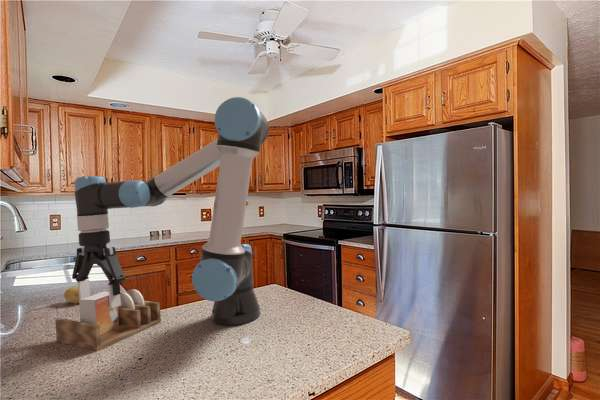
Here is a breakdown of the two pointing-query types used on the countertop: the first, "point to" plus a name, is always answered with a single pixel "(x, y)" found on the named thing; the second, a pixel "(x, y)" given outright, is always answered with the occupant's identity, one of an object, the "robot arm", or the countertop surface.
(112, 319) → the small box
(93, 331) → the rack
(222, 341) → the countertop surface
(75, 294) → the potato
